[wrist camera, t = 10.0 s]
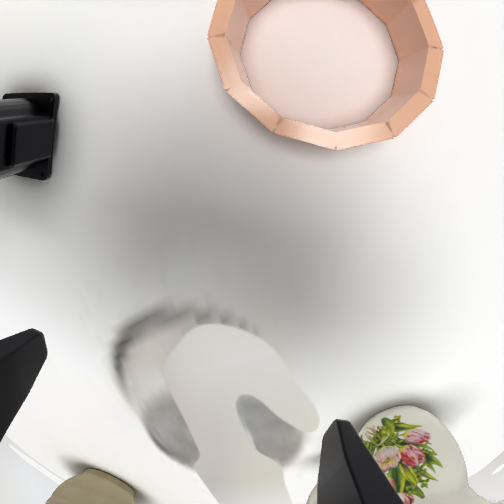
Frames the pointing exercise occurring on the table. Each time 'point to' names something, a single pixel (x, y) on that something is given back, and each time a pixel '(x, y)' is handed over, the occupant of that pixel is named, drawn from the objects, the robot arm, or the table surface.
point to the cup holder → (385, 117)
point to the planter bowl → (92, 490)
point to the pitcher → (417, 458)
